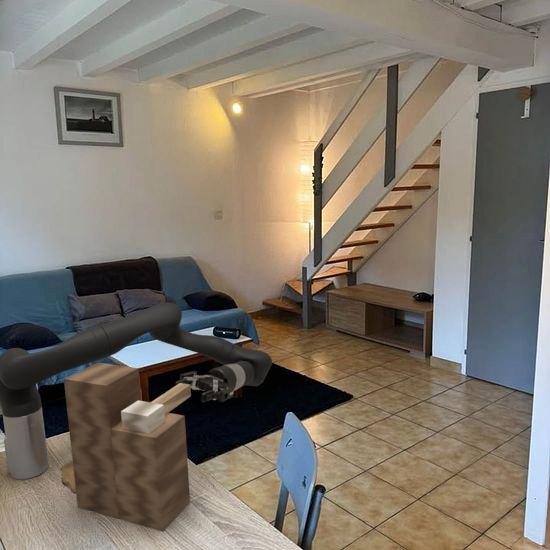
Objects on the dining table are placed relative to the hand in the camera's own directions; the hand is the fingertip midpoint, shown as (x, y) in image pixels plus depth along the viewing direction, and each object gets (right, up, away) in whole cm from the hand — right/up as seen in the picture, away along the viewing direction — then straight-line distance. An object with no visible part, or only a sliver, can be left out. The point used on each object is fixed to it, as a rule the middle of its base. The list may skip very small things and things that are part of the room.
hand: (188, 392), depth 130 cm
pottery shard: (-30, -24, +6) cm, 39 cm away
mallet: (-5, -3, -8) cm, 10 cm away
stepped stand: (-12, -25, -7) cm, 29 cm away
